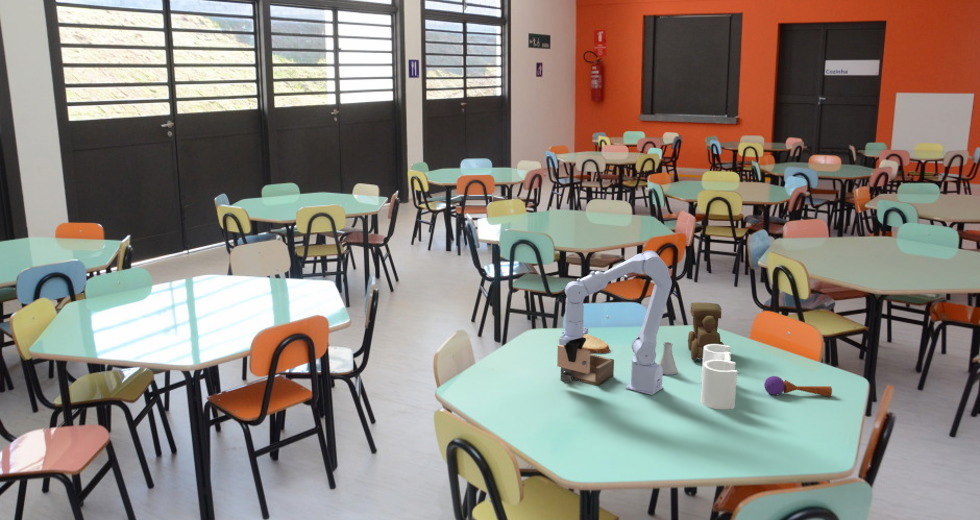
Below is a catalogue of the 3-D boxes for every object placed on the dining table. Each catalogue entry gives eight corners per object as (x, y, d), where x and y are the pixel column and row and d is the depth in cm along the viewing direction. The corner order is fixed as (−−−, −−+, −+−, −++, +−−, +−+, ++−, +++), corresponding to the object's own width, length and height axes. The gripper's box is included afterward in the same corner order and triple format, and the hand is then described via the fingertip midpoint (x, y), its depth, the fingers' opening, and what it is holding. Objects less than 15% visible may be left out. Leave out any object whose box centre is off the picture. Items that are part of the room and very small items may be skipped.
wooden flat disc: (611, 354, 292) (611, 344, 292) (560, 354, 293) (561, 344, 292) (606, 338, 310) (606, 328, 309) (558, 337, 311) (558, 328, 310)
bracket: (698, 377, 270) (700, 343, 267) (729, 380, 268) (731, 345, 265) (701, 408, 246) (703, 370, 243) (734, 410, 244) (737, 372, 241)
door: (589, 372, 258) (590, 351, 256) (585, 374, 256) (586, 353, 254) (559, 364, 264) (560, 344, 263) (556, 366, 262) (556, 346, 261)
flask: (676, 368, 279) (677, 340, 276) (678, 375, 272) (680, 347, 269) (654, 367, 279) (656, 339, 277) (656, 375, 272) (658, 346, 270)
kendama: (834, 388, 251) (768, 381, 252) (830, 405, 253) (764, 397, 255) (829, 378, 256) (764, 371, 258) (825, 394, 259) (761, 387, 260)
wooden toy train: (686, 345, 301) (688, 301, 297) (717, 346, 300) (720, 302, 296) (691, 364, 282) (694, 318, 278) (725, 365, 281) (728, 319, 277)
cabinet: (613, 376, 271) (614, 359, 269) (593, 388, 261) (594, 371, 259) (578, 367, 279) (579, 351, 277) (558, 379, 268) (558, 362, 267)
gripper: (575, 311, 265) (574, 351, 268) (551, 323, 253) (550, 364, 256) (594, 315, 260) (593, 356, 264) (570, 327, 249) (569, 369, 252)
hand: (573, 360), depth 260 cm, fingers closed on door, 2 cm apart
